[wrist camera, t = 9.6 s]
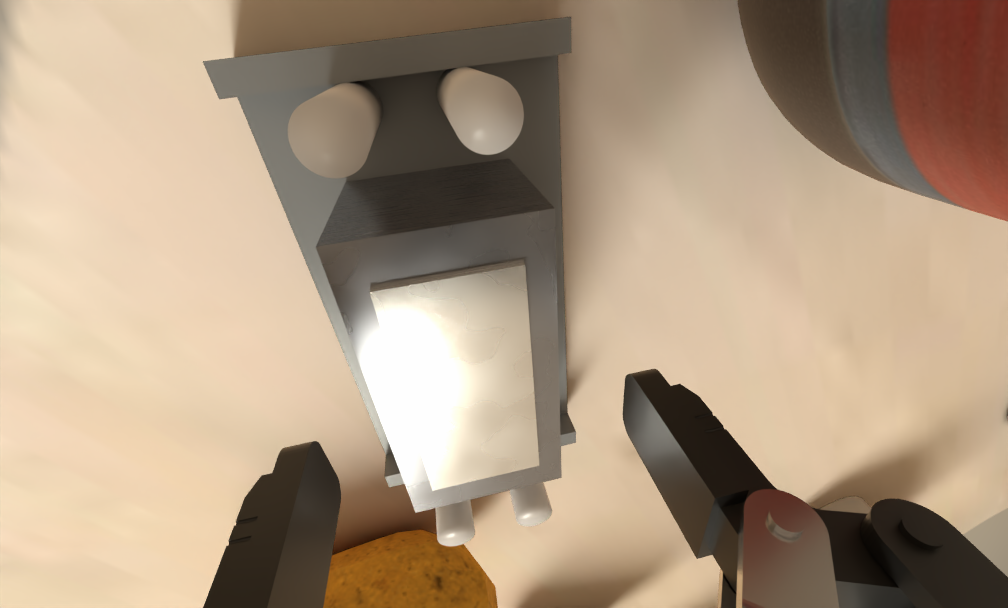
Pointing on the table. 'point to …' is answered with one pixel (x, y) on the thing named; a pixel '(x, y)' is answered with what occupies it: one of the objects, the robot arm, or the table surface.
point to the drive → (453, 323)
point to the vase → (894, 89)
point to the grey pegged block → (408, 152)
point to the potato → (408, 575)
